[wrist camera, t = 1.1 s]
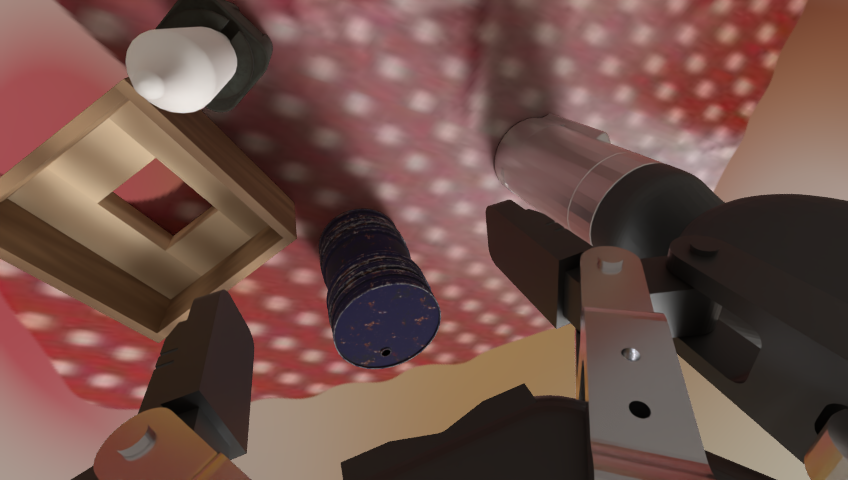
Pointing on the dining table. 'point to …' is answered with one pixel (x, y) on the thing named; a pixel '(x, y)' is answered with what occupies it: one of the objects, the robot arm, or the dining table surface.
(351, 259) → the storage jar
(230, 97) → the candle
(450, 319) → the dining table surface
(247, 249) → the peg box
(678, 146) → the dining table surface
